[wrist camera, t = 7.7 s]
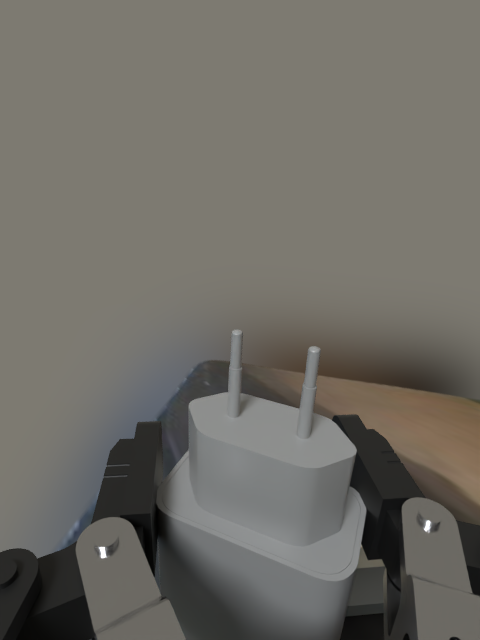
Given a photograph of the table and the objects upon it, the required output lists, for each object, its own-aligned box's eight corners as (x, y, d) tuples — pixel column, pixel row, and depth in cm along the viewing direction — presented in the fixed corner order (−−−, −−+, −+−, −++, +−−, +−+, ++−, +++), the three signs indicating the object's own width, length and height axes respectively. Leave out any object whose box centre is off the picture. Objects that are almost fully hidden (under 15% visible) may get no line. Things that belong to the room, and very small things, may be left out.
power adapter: (313, 755, 12) (397, 406, 7) (154, 663, 13) (132, 339, 9) (334, 643, 14) (405, 336, 9) (198, 579, 16) (200, 296, 11)
